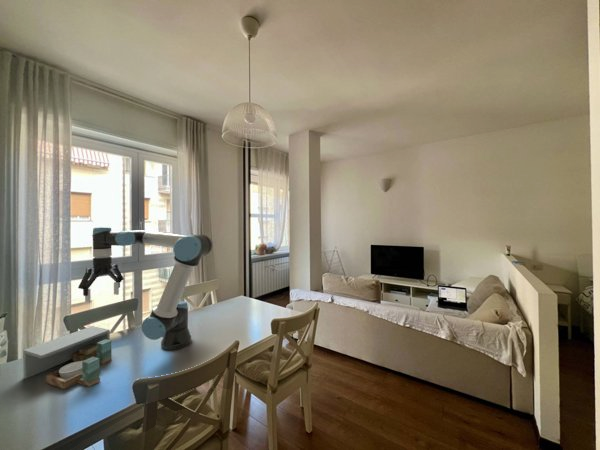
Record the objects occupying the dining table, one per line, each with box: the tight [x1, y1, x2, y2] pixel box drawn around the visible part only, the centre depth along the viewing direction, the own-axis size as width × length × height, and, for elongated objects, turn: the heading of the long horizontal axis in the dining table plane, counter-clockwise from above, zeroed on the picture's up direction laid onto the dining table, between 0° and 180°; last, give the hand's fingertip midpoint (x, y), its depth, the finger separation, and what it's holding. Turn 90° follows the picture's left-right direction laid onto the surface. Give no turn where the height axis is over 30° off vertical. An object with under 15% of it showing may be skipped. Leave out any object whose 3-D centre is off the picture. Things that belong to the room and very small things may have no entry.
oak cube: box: [80, 345, 97, 356], centre depth 123 cm, size 5×5×5 cm
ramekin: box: [58, 361, 82, 380], centre depth 108 cm, size 9×9×4 cm
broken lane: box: [72, 339, 113, 366], centre depth 122 cm, size 18×9×10 cm, turn 70°
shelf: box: [22, 325, 111, 379], centre depth 117 cm, size 14×26×12 cm, turn 160°
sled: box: [45, 357, 101, 390], centre depth 106 cm, size 20×13×10 cm, turn 70°
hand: (102, 298), depth 127 cm, fingers open, 13 cm apart
